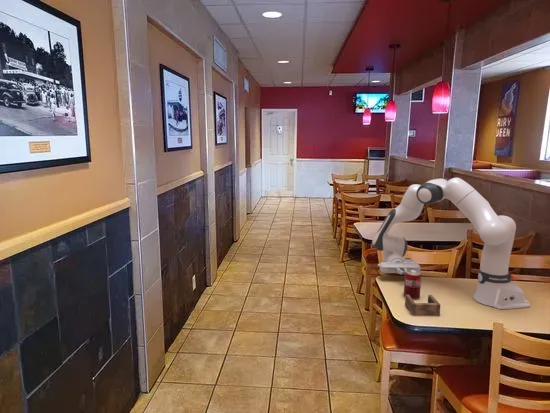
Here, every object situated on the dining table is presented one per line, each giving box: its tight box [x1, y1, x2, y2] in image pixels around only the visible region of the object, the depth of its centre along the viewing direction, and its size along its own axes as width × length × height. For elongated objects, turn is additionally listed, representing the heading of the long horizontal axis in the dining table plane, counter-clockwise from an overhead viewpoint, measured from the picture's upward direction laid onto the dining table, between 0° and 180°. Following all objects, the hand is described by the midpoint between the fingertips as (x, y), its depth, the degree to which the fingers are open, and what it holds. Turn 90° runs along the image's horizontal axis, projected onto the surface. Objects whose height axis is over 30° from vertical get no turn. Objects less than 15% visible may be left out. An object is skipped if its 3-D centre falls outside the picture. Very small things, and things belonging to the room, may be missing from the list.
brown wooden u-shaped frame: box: [404, 294, 441, 317], centre depth 166 cm, size 12×10×5 cm
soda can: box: [403, 270, 422, 301], centre depth 179 cm, size 7×7×12 cm
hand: (403, 273), depth 192 cm, fingers closed
